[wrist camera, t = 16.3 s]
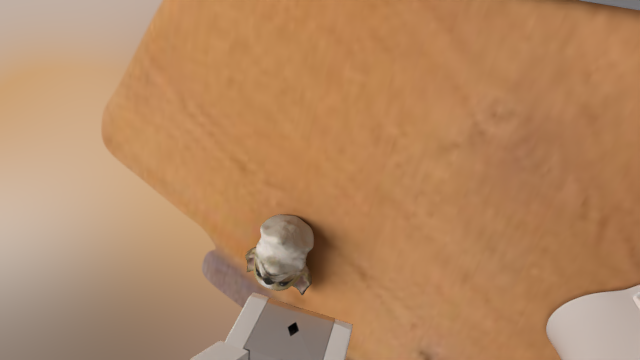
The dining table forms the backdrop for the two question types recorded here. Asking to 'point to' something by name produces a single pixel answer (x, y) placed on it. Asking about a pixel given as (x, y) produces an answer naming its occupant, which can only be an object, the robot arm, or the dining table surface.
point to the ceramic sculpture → (282, 254)
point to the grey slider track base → (619, 3)
